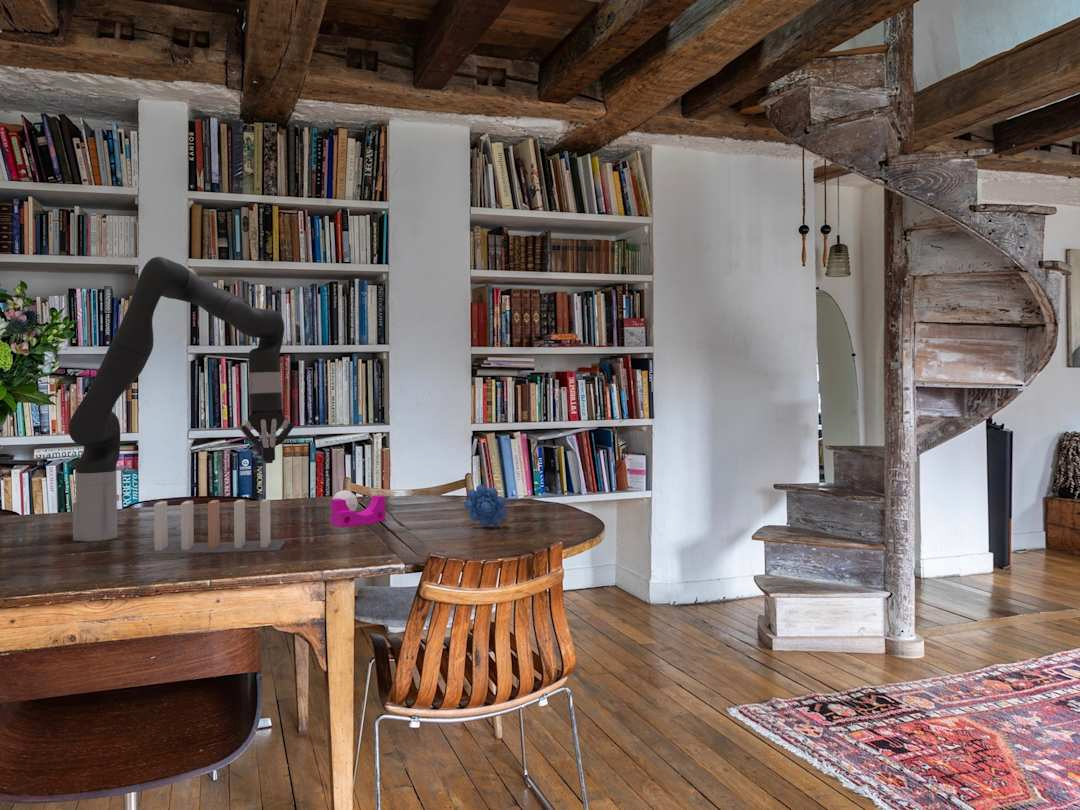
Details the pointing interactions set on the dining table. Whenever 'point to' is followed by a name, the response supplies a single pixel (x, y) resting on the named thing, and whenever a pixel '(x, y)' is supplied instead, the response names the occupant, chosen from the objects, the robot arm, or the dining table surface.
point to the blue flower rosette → (485, 506)
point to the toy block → (347, 517)
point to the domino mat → (222, 548)
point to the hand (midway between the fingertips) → (268, 462)
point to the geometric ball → (347, 499)
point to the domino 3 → (213, 524)
